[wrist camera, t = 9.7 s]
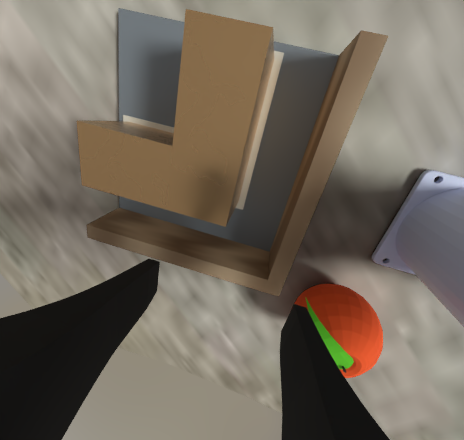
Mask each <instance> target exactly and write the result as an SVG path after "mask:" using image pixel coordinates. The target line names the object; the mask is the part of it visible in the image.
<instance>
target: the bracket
mask: <svg viewBox="0 0 464 440" xmlns="http://www.w3.org/2000/svg"><path fill="white" fill-rule="evenodd" d="M273 62H274V40H273V27H269V26H264V25H259V24H254V23H250V22H245V21H240V20H235V19H231V18H226V17H221V16H216V15H212V14H207V13H202V12H197V11H193V10H188V9H186V13H185V23H184V34H183V44H182V54H181V64H180V74H179V85H178V95H177V105H176V115H175V125H174V133H171V132H167V131H163V130H159V129H155V128H152V127H148V126H144V125H140V124H136V123H132V122H124V121H77V131H78V143H79V156H80V168H81V180H82V185H83V186H87V187H90V188H93V189H97V190H100V191H104V192H107V193H111V194H114V195H118V196H121V197H124V198H128V199H131V200H135V201H138V202H142V203H145V204H149V205H152V206H155V207H159V208H162V209H166V210H169V211H173V212H176V213H180V214H183V215H186V216H190V217H193V218H197V219H200V220H204V221H207V222H211V223H214V224H217V225H221V226H224V227H226V225H227V223H228V221H229V220H230V218H231V216H232V214H233V212H234V210H235V208H236V206H237V204H238V202H239V198H240V194H241V190H242V186H243V182H244V178H245V174H246V170H247V166H248V162H249V158H250V154H251V150H252V146H253V142H254V138H255V134H256V130H257V126H258V122H259V118H260V114H261V110H262V106H263V102H264V98H265V94H266V90H267V86H268V82H269V78H270V74H271V70H272V66H273Z"/></svg>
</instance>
